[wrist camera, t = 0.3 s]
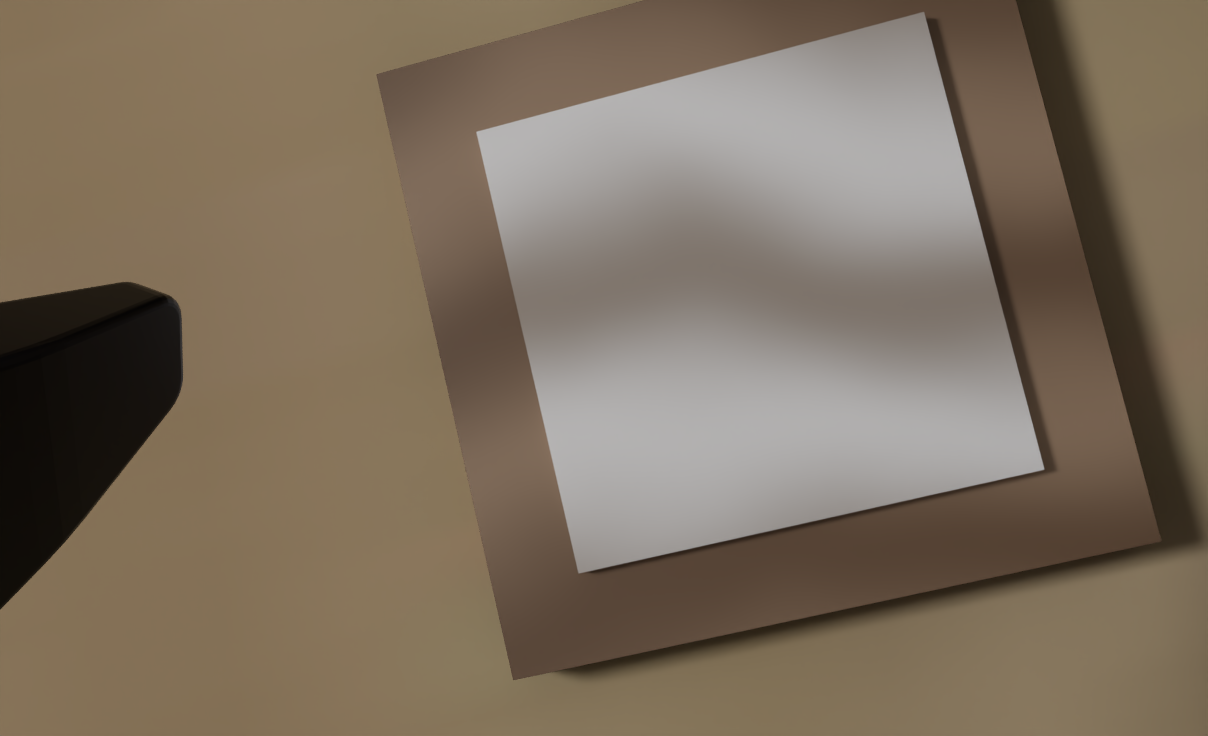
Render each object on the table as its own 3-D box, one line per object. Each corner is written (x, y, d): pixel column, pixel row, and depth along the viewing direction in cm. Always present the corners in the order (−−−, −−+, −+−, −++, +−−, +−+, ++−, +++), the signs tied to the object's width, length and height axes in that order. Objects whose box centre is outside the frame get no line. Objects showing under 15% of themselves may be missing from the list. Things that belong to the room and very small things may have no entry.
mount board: (1136, 533, 21) (1168, 543, 20) (523, 665, 23) (510, 684, 21) (975, -69, 22) (994, -103, 21) (393, 91, 23) (372, 70, 22)
